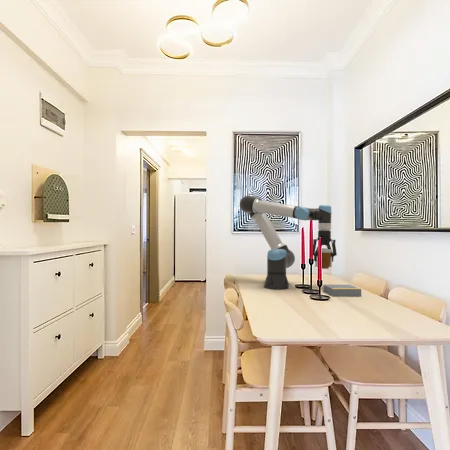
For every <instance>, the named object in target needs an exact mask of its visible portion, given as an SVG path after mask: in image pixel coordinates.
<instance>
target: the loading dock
mask: <svg viewBox="0 0 450 450" xmlns="http://www.w3.org/2000/svg"><path fill="white" fill-rule="evenodd" d="M322 286H323V288H322V289H323V293H326V294H328V295H330V296H331V297H362V288H360V287H357V286H355V285H352V284H323V285H322Z"/></svg>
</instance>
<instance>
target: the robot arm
mask: <svg viewBox="0 0 450 450" xmlns="http://www.w3.org/2000/svg"><path fill="white" fill-rule="evenodd" d="M239 208H240V209H241V211H242V212H244V213H247V214H248V215H249V216H250V218H251V220H254V221H255V223H256V225H257V226H258V229H259V230H260V232H261V234H262V235H263V237H264V239H265V241H266V242H267V244H268V246H269V247H270V249H269V250H268V251H267V255H266V257H267V258H266V259H267V260H266V261H267V263H266V264H267V265H266V268H267V271H266V272H267V273H266V277H265V280H264V284H263V285H264V288H266V289H269V290H272V289H273V290H287V289H289V288H290V283H289V280H288V277H287V269H288V268H290V267H292V266H293V265H294V264H295V260H296V256H295V253H294V252H293V251H292V250H290V249H289V247H288V245H287V244H286V243H284V242H282V240H281V238H280V235H279V234H278V233H277V231H276V229H275V228H274V225H273V224H272V222H271V221H270V219H269V216H268V215H274V216H279V217H285V218H289V219H290V218H291V219H296V220H299V221H300V220H301V221H318V224H317V227H318V231H317V238H314V239H312V246H313V255H312V256H313V261H314V263H315V264H314V266H315V267H316V268H318V256H317V254H318V246H317V243H318V240H319V237H321V247H322V246H326V249H331V251H332V253H331V257H330V263H329V268H332V267H333V262H334V258H335V256H338V255H337V254H338V253H337V247H336V239H332V236H331V234H332V231H331V230H332V206H331V205H328V204H321V205H318V208H311V207H310V208H309V207H305V206H299V205H292V204H284V203H280V202H274V201H266V200H263V199H262V198H260V197H259V196H252V195H245V196H242V198H241V199H240V200H239ZM330 243H331V244H330ZM331 247H332V248H331Z"/></svg>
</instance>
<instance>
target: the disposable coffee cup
mask: <svg viewBox="0 0 450 450" xmlns="http://www.w3.org/2000/svg"><path fill="white" fill-rule="evenodd" d="M321 248H322V247H321ZM331 250H332V248H331V249H328V248H327V247H326V248H322V269H323V270H326V269H327V270H329V269H330V267H329V263H330V257H331V253H332V252H333V250H332V251H331ZM317 256H318V254H317Z"/></svg>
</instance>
